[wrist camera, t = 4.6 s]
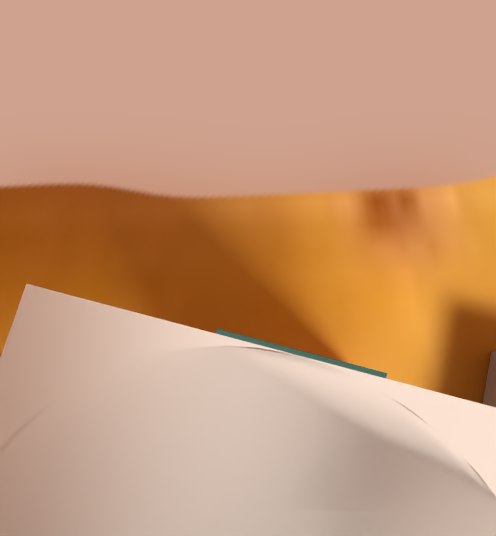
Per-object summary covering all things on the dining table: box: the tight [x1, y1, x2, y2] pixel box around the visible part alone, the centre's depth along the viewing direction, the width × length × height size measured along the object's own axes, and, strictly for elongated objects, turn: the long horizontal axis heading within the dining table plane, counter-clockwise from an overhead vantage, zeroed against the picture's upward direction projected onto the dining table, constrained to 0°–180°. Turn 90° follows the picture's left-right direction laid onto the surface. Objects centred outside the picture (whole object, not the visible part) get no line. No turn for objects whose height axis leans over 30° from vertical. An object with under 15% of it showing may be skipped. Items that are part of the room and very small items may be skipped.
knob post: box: [0, 284, 496, 536], centre depth 9 cm, size 4×4×13 cm
